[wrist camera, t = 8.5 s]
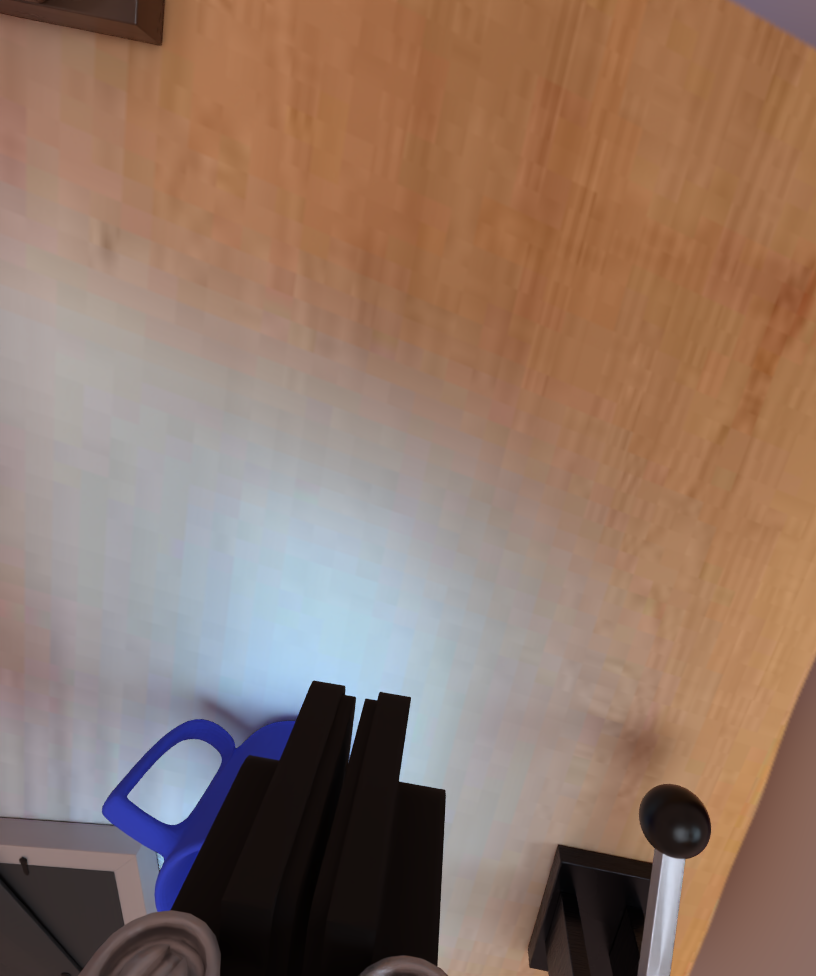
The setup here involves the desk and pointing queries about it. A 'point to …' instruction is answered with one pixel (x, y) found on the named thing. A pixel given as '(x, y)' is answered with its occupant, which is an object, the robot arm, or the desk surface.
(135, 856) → the picture frame
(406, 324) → the desk surface
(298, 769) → the robot arm
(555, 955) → the lever bracket
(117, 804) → the mug
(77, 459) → the desk surface
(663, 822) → the ball knob lever
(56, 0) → the button housing
